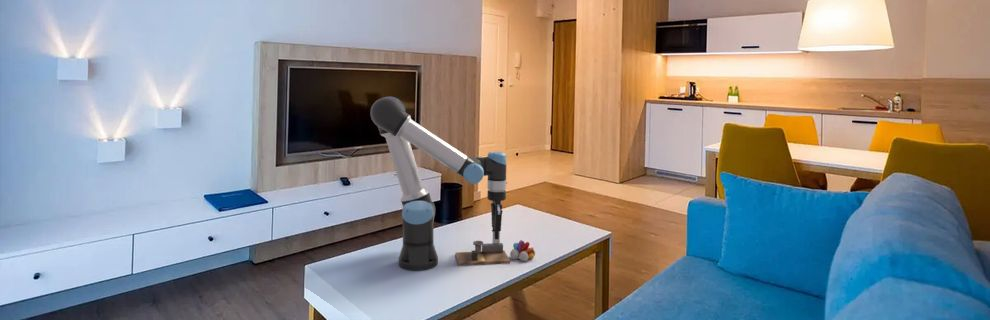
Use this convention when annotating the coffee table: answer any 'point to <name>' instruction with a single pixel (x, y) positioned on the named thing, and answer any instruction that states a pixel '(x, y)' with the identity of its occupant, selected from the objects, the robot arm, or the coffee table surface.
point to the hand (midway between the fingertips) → (495, 245)
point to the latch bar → (492, 247)
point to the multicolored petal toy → (522, 251)
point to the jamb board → (481, 256)
